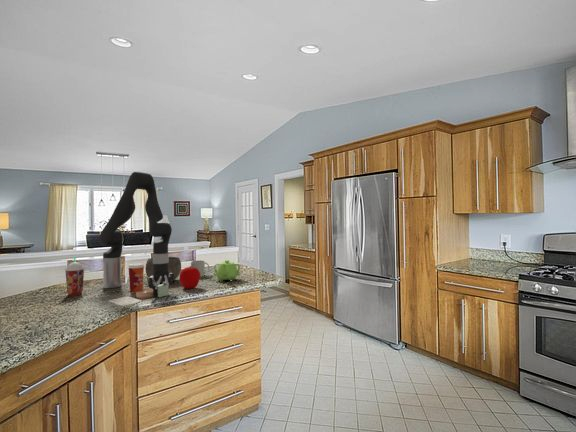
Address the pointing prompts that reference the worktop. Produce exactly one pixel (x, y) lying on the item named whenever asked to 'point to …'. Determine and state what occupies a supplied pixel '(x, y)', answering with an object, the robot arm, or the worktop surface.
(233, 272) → the teapot
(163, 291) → the cube
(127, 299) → the mat
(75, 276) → the smoothie
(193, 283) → the tomato
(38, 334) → the worktop surface
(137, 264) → the coffee cup
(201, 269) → the mug
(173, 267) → the bowl
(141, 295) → the peach domed disc
